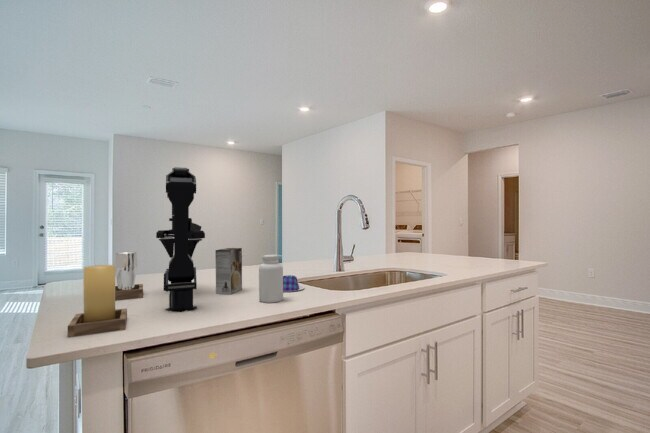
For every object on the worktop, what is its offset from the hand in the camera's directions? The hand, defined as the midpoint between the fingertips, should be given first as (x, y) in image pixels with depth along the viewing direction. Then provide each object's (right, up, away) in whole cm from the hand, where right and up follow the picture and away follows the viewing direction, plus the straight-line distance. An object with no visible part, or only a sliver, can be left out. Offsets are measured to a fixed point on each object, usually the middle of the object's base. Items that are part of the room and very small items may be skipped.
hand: (180, 258), depth 125 cm
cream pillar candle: (-4, -12, -39) cm, 41 cm away
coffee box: (+17, -13, +3) cm, 22 cm away
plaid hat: (+39, -13, +7) cm, 42 cm away
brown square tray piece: (-4, -13, -39) cm, 41 cm away
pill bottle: (+35, -13, -11) cm, 39 cm away
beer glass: (-18, -13, -4) cm, 22 cm away
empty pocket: (-18, -13, -4) cm, 23 cm away
